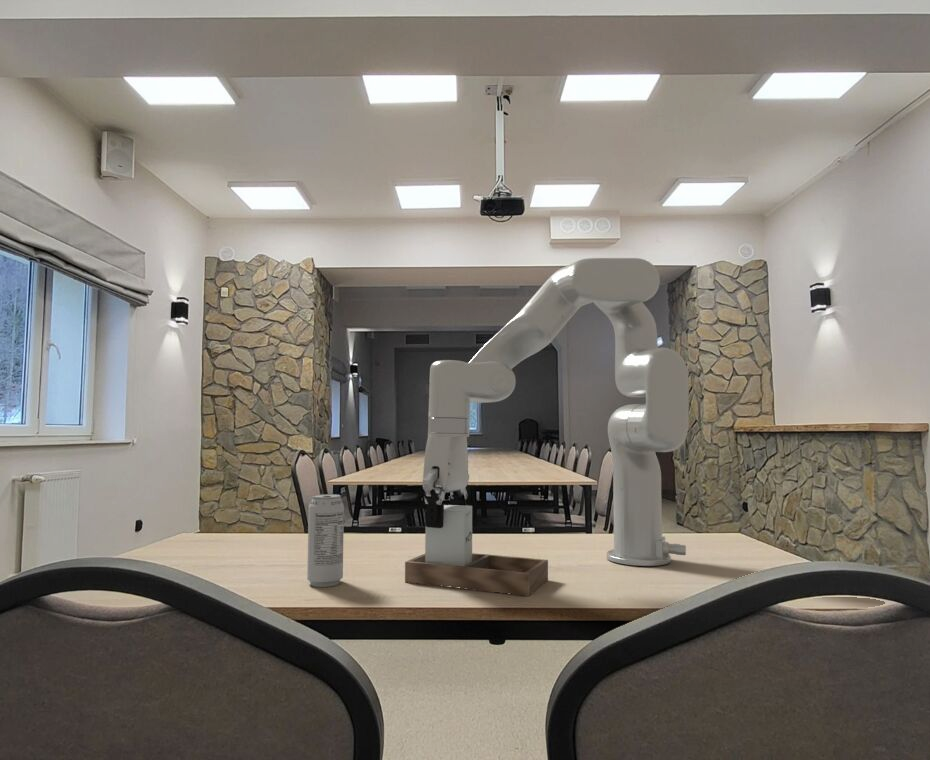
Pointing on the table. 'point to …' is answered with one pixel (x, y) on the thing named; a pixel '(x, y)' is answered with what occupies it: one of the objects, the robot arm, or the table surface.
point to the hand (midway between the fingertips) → (446, 523)
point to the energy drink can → (325, 540)
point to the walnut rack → (482, 573)
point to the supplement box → (451, 538)
